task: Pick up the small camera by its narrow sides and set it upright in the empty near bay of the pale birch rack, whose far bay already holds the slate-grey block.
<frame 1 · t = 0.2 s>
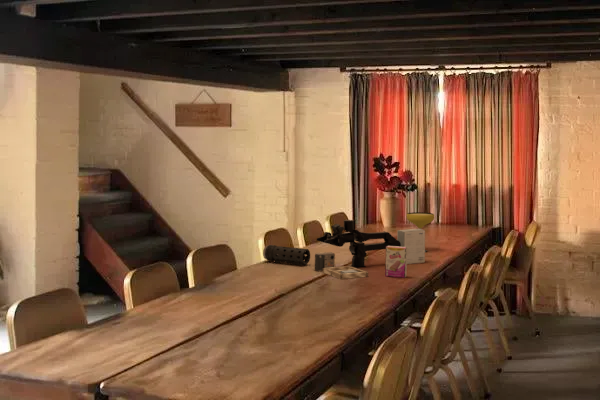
hand: (320, 240, 423), 17 cm above the table, tool horizontal, fingers open, 9 cm apart
muzzle brake: (286, 264, 443), on the table
slot rack: (345, 274, 409), on the table
hard drive box: (410, 263, 450), on the table
camera: (324, 270, 422), on the table
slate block: (349, 276, 405), resting in slot rack
cocktail glass: (419, 251, 495), on the table
candy bar box: (395, 276, 406), on the table
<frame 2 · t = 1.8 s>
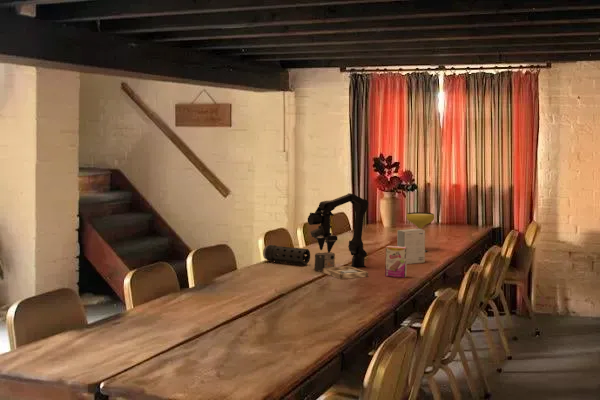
hand: (324, 251, 421), 11 cm above the table, tool pointing down, fingers open, 9 cm apart
nothing on the table moved.
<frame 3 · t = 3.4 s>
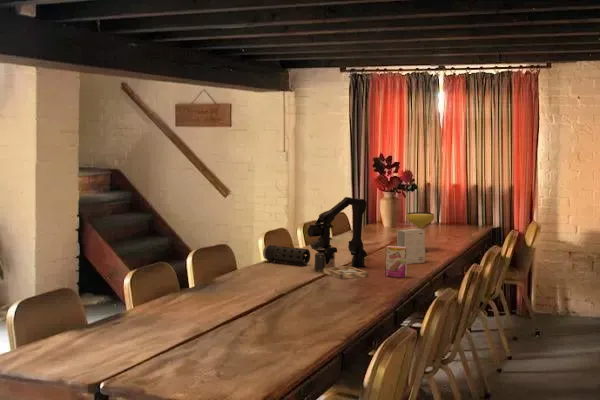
hand: (324, 263, 422), 4 cm above the table, tool pointing down, fingers closed on camera, 6 cm apart
camera: (324, 270, 422), on the table, touching gripper
everything else where it was.
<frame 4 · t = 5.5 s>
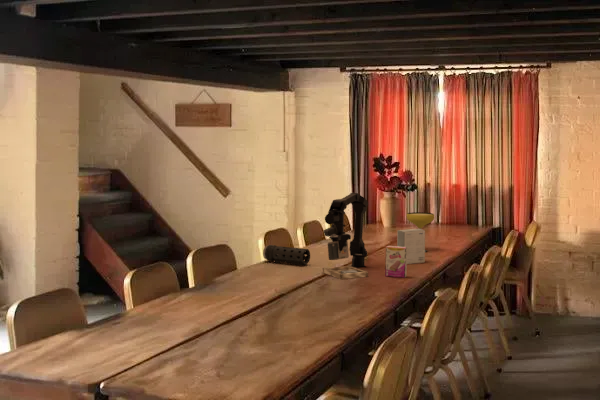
hand: (338, 250, 414), 12 cm above the table, tool pointing down, fingers closed on camera, 5 cm apart
camera: (339, 259, 414), point 8 cm above the table, touching gripper
everything else where it was.
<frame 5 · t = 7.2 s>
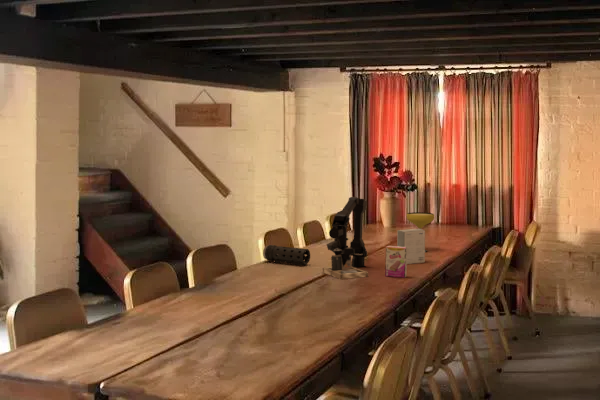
hand: (341, 264, 413), 5 cm above the table, tool pointing down, fingers closed on camera, 5 cm apart
camera: (342, 273, 413), resting in slot rack, touching gripper
everything else where it was.
when the fingers open (5 cm above the table, at t = 7.9 s): camera stays where it is, resting in slot rack.
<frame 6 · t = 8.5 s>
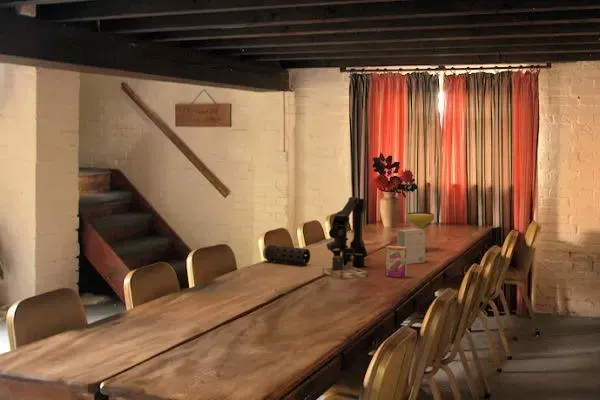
hand: (341, 264, 413), 5 cm above the table, tool pointing down, fingers open, 9 cm apart
camera: (342, 273, 413), resting in slot rack
everything else where it was.
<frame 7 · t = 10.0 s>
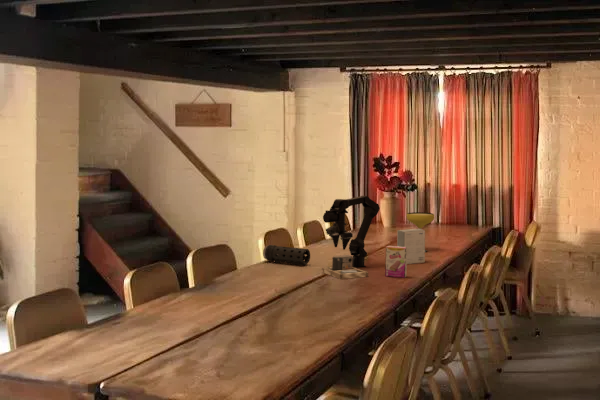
hand: (339, 248, 426), 12 cm above the table, tool pointing down, fingers open, 9 cm apart
nothing on the table moved.
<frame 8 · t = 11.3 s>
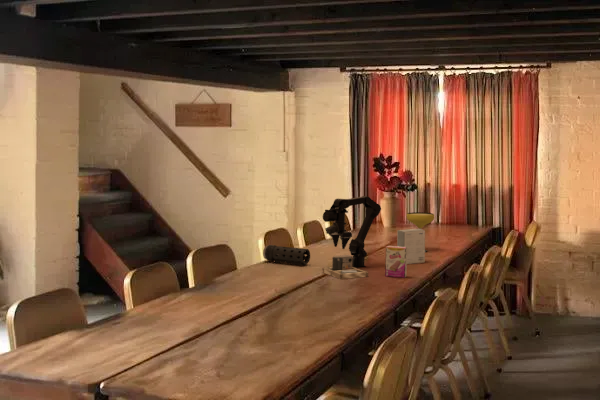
hand: (339, 247, 427), 12 cm above the table, tool pointing down, fingers open, 9 cm apart
nothing on the table moved.
at the end: camera inside the target area on the slot rack (0.8 cm from its centre), point 0.0 cm above the slot rack's base; camera tilted 0°; the gripper is holding nothing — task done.
